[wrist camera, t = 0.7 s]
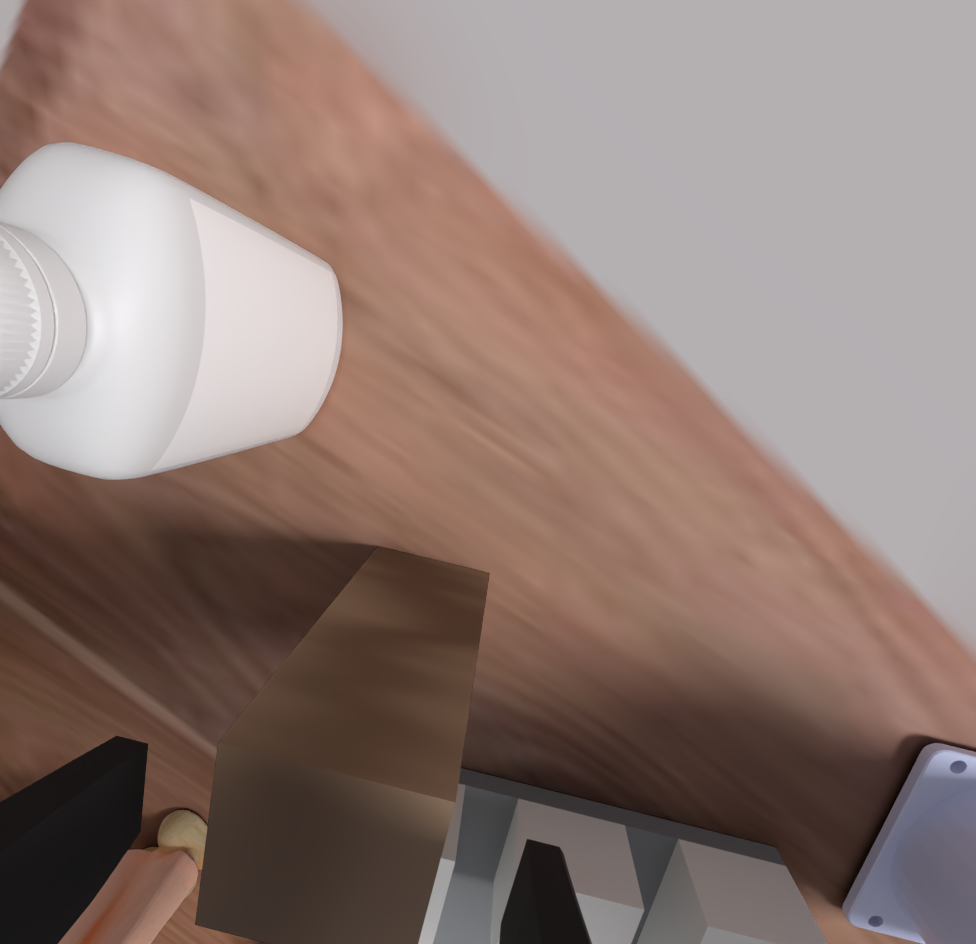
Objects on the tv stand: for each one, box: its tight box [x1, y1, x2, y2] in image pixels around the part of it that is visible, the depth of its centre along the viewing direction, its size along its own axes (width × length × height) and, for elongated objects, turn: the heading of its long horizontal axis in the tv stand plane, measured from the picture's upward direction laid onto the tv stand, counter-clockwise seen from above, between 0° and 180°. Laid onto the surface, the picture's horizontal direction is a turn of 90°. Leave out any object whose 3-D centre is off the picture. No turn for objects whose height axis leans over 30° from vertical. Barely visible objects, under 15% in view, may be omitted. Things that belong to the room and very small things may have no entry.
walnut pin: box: [195, 546, 490, 944], centre depth 13 cm, size 4×4×9 cm
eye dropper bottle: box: [0, 142, 343, 480], centre depth 9 cm, size 4×6×12 cm
